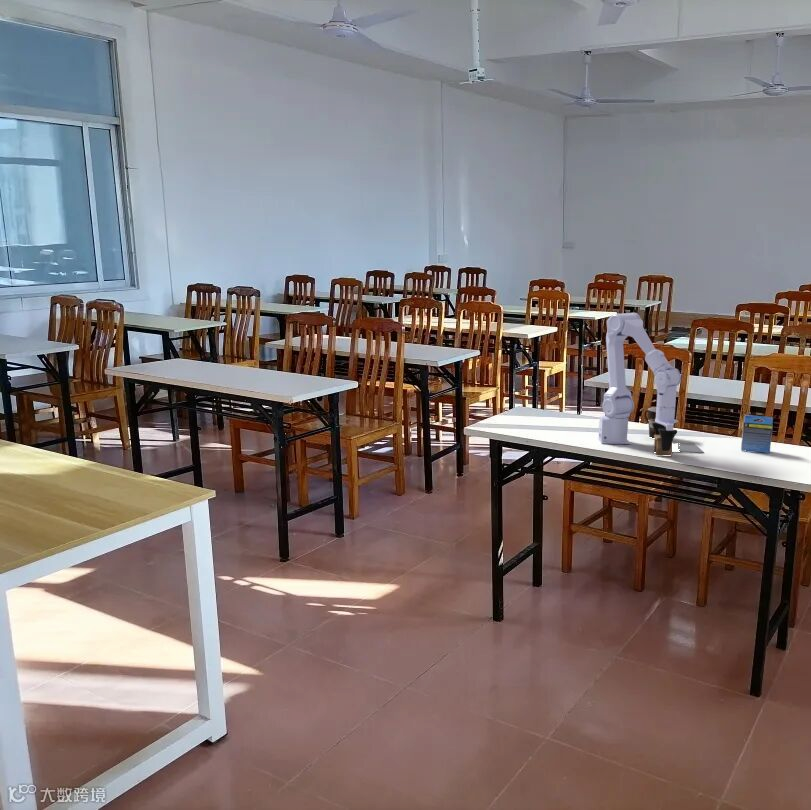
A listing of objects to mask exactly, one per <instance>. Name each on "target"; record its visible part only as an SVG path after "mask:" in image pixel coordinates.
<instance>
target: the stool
mask: <svg viewBox="0 0 811 810" xmlns="http://www.w3.org/2000/svg"><path fill="white" fill-rule="evenodd" d="M654 438H655V439H653V440H654V441H653V442H654V443H653V453H654V452H656V453H655V455H656V454H657V455H671V456H672V453H673V452H672V444H671V447H670V450H669V451H663V450H662V446H661V436H660V435H654Z"/></svg>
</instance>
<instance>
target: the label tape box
mask: <svg viewBox="0 0 811 810" xmlns="http://www.w3.org/2000/svg"><path fill="white" fill-rule="evenodd" d="M758 419H759V420H760V421H759V420H758ZM756 420H758V421H756ZM773 420H774V417H772V416H764V415H762V416H761V415H751V414H750V415H749V414H744V419H743V425H742V432H741V433H742V436H741V447H740V451H741V450H746V451H745V452H747V451H758V452H757V453H760V452H766V453H765V454H770V453H771V444H772V437H773V436H772V435H773V427H774V426H773Z"/></svg>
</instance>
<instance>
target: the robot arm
mask: <svg viewBox="0 0 811 810" xmlns="http://www.w3.org/2000/svg"><path fill="white" fill-rule="evenodd" d="M606 328H607V329H606V330H607V332H606V334H605V335H606V336H605V343H606V345H605V346H606V357H607V359H606V360H607V372H608V373H607V374H608V385H609V386H608V387H609V388H608V389H607V391H606V392H604V394H603V402H602V411H603V413H604V415H601V416H600V417H599V422H598V424H599V425H598V426H599V427H598V437H597V438H598V440H599V441H600V443H601V444H606V445H607V444H609V445H611V444H613V445H614V444H615V445H619V444H620V445H630V444H631V443H630V441H629V440H628V429H629V418H630V417H631V413H632V412H633V411H634V409H635V402H634V399H633V397H632V391H630V390H629V389H628V388H627V384H626V383H627V382H626V371H625V370H626V367H625V366H626V365H625V353H624V352H625V351H624V341H626V339H627V338H628V337H631V338H632V339H634V341H635V342H636V344H637V345H638V346H639V348H640V349H641V351H642V352H643V353H644V354H645V357H644V362H646V364H647V365H648V367H649V369H650V371H652V373H653V375H654V378H653V381H654V383H655V385H656V393H657V395H656V407H655V408H656V419H655V422H656V423H652V425H653V428H654V431H655V435H660V436H661V446H662V450H663V451H669V450H670V447H671V444H672V443H673V442H674V439H675V437H676V435H677V433H678V430H677V429H674V426H675V424H677V423H679V420H678V419H675V416H676V415H675V414H676V404H677V403H676V402H677V399H676V398H677V387H678V386H679V385H680V384H681V383H682V375H681V372H680V370H679V369H678V368H675V367H673V366H672V365H671V364H670V362H669V361H668V360H667V358H666V356H665V352H663V351H662V350H660V349H656V347H655V346H654V344H653V343H652V340H651V339H650V337H649V335H648V333H647V332H646V330H645V328H644V321H643V320H642V319H641V316H640V315H639V314H638V313H637V312H627V313H612V314H611V315H610V316H609V317H608V319H607V320H606Z"/></svg>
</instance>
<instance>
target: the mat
mask: <svg viewBox="0 0 811 810" xmlns="http://www.w3.org/2000/svg"><path fill="white" fill-rule="evenodd" d="M677 443H678V449H680V450H679V451H680V452H696V453H695V454H705V452H704V451H703V449H701V448H700V446H699V445H697V444H695V443H694V442H677ZM679 443H680V444H679ZM679 445H680V446H679Z"/></svg>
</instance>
